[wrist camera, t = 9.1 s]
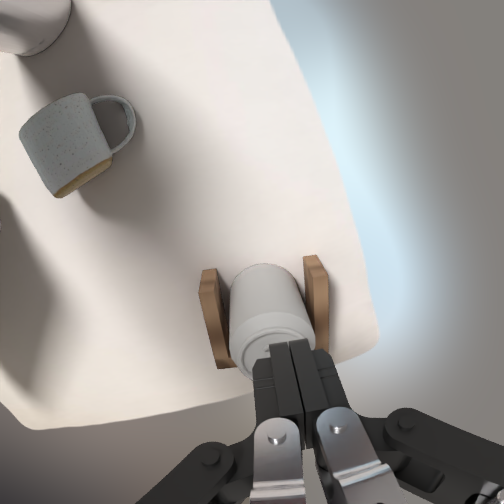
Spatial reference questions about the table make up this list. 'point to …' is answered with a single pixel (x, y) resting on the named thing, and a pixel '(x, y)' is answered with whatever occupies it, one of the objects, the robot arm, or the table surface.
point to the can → (265, 314)
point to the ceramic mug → (71, 142)
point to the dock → (217, 319)
